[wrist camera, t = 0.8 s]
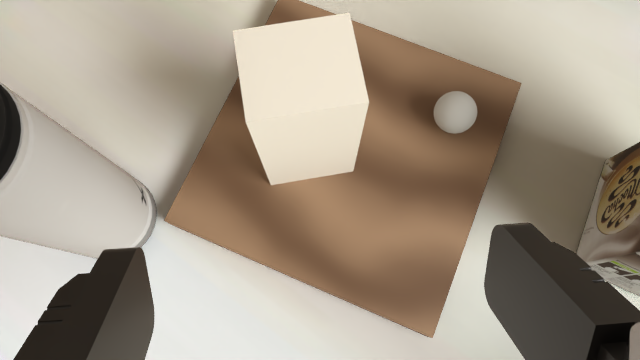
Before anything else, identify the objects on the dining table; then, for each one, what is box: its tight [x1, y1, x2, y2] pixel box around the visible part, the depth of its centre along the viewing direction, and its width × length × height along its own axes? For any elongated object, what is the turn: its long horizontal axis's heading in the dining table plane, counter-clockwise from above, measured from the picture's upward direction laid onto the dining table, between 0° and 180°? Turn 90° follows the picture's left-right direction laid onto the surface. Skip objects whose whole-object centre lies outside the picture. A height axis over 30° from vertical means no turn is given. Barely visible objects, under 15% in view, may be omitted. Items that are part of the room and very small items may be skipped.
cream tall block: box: [233, 13, 369, 185], centre depth 30 cm, size 5×6×12 cm
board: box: [164, 0, 521, 338], centre depth 36 cm, size 20×20×2 cm
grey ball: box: [434, 91, 477, 134], centre depth 34 cm, size 3×3×3 cm
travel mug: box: [0, 83, 157, 259], centre depth 26 cm, size 6×7×20 cm
